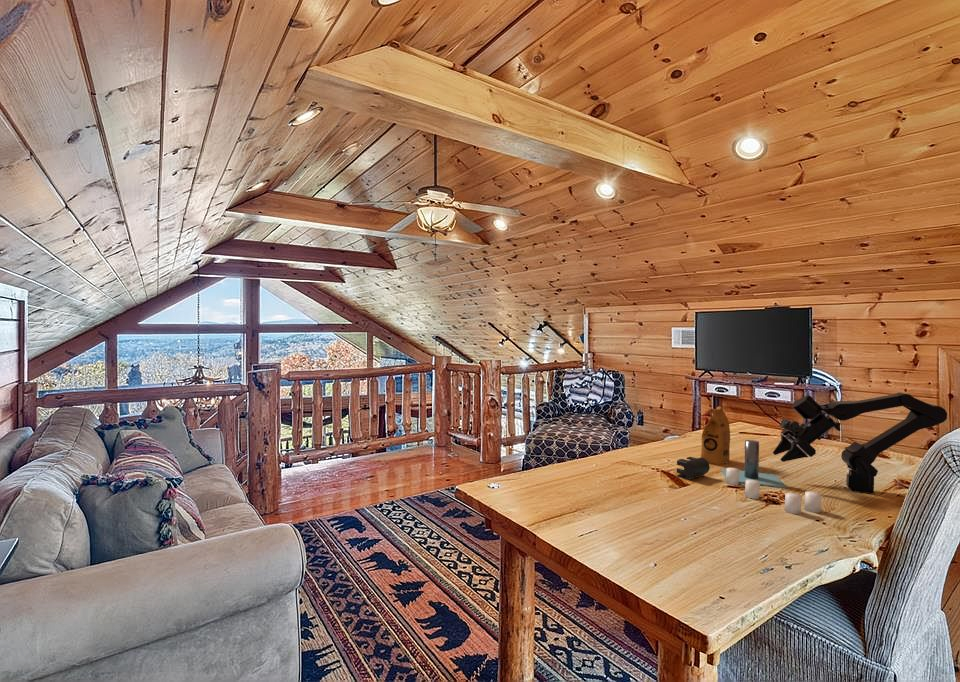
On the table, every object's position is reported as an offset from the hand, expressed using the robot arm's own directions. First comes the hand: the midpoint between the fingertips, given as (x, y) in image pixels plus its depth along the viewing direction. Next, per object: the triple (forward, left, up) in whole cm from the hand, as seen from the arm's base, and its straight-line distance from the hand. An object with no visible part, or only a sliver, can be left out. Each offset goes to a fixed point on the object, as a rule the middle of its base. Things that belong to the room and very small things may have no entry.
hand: (777, 457), depth 166 cm
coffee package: (+19, -18, -9) cm, 28 cm away
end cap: (+27, +9, -9) cm, 30 cm away
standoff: (+8, +1, -8) cm, 11 cm away
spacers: (+6, +19, -9) cm, 22 cm away
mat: (+8, +1, -9) cm, 12 cm away
